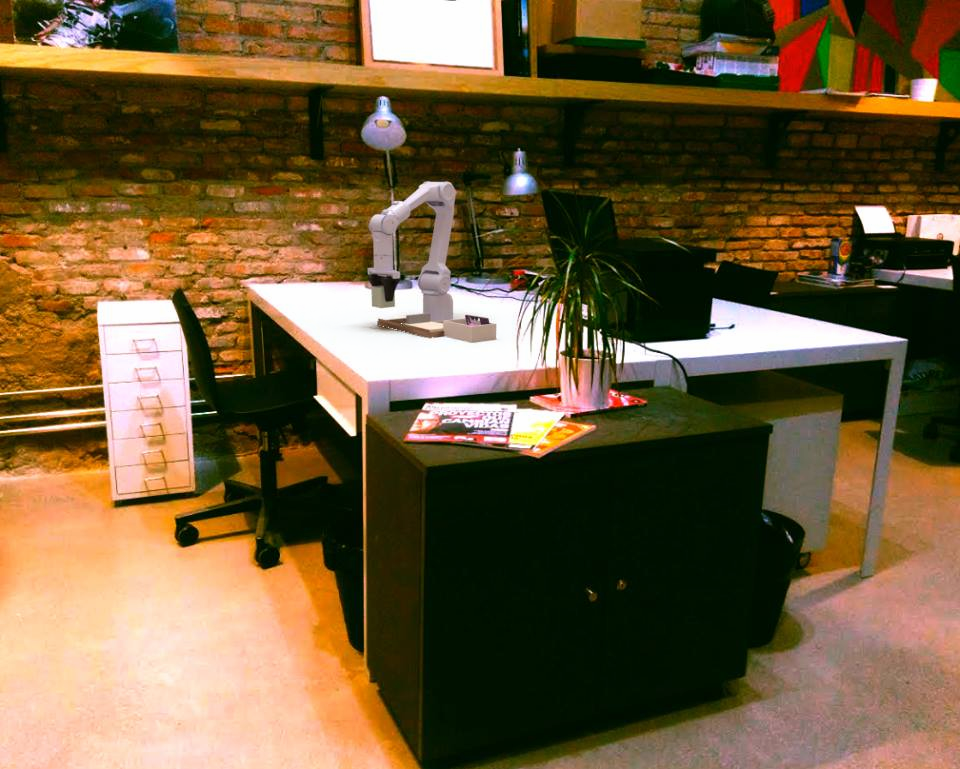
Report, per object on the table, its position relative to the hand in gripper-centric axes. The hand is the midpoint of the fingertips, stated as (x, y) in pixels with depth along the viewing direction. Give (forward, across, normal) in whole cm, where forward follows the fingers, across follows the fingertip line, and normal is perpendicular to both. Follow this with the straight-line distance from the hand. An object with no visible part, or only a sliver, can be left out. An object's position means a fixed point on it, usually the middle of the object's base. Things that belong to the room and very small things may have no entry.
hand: (384, 300), depth 259 cm
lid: (+7, +14, +7) cm, 17 cm away
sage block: (+2, 0, 0) cm, 2 cm away
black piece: (+9, +28, +13) cm, 33 cm away
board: (+9, +7, +7) cm, 13 cm away
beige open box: (+9, +27, +12) cm, 30 cm away
